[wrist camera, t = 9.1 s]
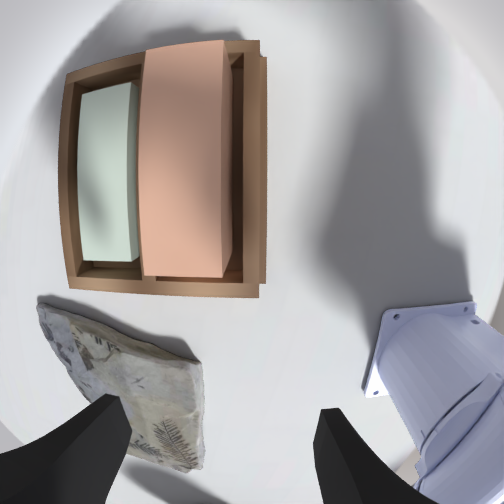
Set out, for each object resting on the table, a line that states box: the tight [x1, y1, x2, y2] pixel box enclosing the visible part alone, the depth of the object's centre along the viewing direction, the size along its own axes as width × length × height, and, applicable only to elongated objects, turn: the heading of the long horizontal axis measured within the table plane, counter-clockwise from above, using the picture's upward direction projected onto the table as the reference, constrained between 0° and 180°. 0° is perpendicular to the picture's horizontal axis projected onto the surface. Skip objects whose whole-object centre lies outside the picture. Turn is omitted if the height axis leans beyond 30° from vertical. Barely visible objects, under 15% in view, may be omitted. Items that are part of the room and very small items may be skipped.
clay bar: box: [138, 40, 234, 278], centre depth 13 cm, size 3×10×5 cm, turn 0°
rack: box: [58, 40, 267, 298], centre depth 14 cm, size 13×14×3 cm
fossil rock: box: [36, 303, 205, 473], centre depth 20 cm, size 18×15×2 cm
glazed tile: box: [77, 82, 140, 262], centre depth 14 cm, size 3×10×2 cm, turn 0°
